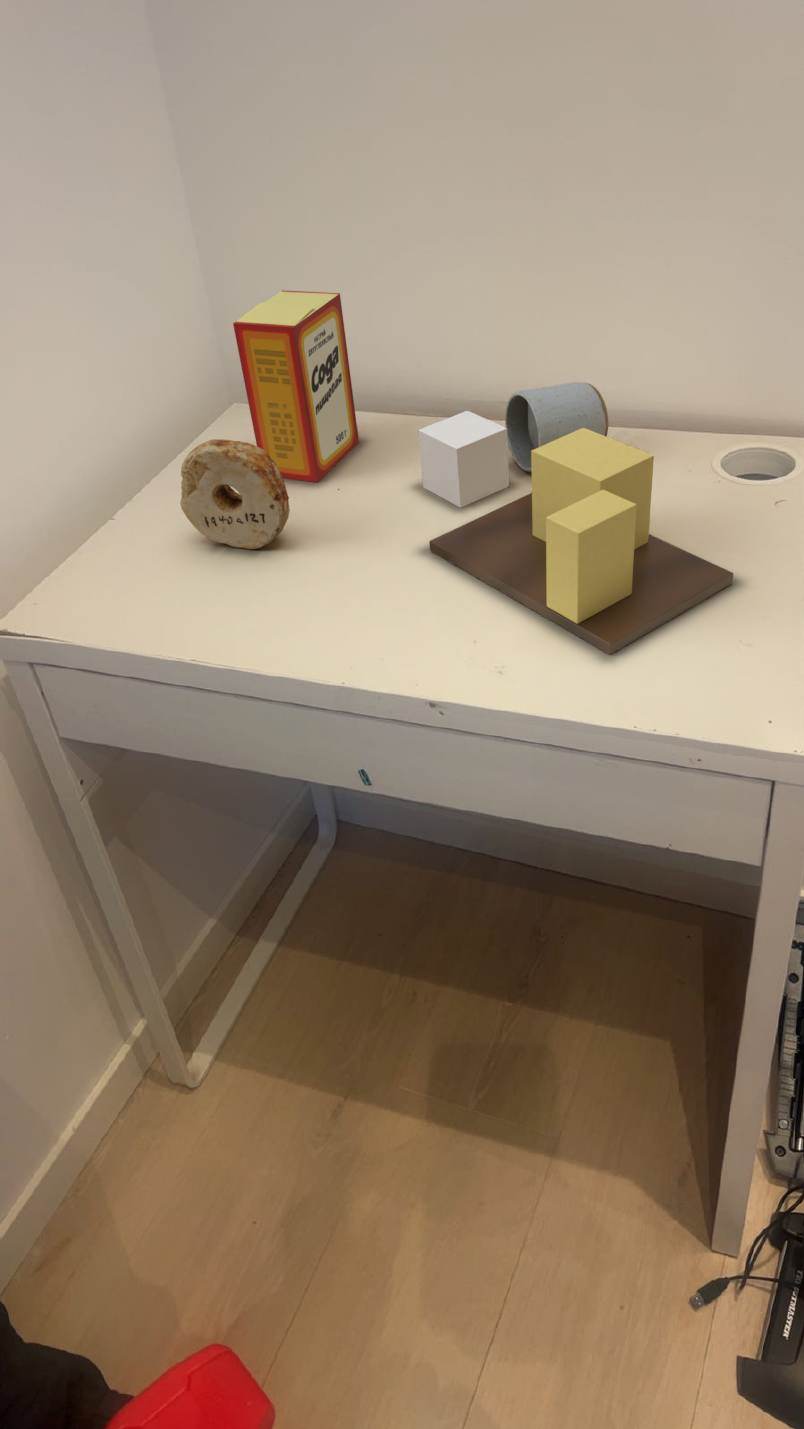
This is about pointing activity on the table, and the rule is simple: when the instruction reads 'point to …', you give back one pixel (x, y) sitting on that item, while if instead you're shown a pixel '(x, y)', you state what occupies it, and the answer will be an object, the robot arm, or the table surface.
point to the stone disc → (234, 493)
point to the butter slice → (590, 555)
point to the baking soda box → (298, 381)
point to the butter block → (589, 477)
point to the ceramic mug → (551, 417)
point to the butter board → (518, 569)
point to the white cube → (464, 458)
